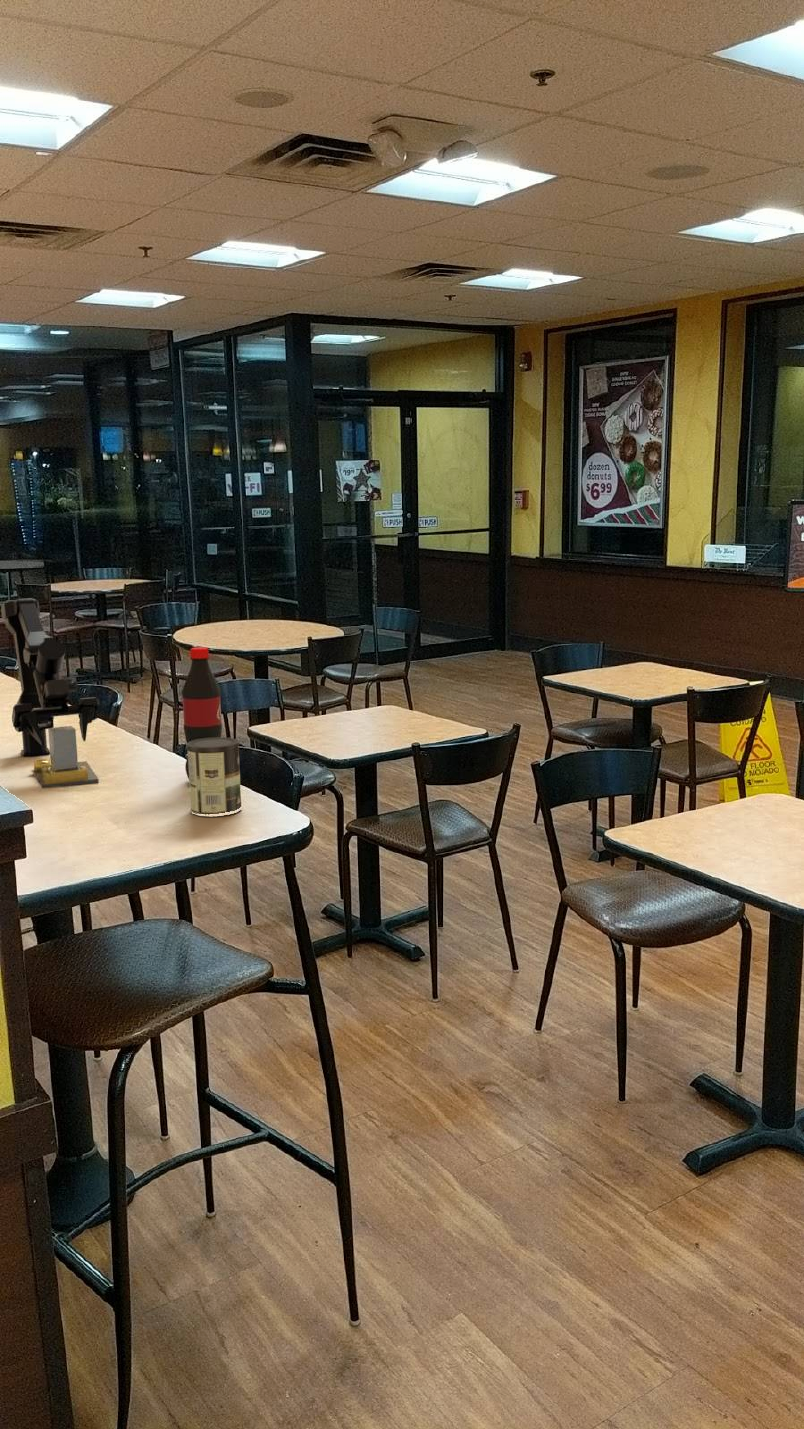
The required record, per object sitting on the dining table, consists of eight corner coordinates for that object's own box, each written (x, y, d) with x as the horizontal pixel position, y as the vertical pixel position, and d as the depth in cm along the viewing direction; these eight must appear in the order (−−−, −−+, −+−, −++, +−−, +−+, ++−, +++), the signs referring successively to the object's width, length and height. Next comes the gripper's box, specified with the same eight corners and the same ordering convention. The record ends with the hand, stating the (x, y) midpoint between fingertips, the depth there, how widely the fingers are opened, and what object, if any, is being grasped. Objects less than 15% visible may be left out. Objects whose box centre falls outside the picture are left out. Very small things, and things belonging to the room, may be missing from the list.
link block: (51, 775, 246) (48, 728, 244) (74, 773, 248) (70, 725, 246) (55, 779, 242) (52, 731, 240) (78, 777, 244) (75, 729, 242)
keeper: (32, 769, 256) (31, 758, 255) (86, 764, 260) (85, 753, 260) (40, 788, 237) (40, 776, 237) (98, 782, 242) (97, 770, 242)
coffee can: (231, 801, 225) (228, 734, 222) (249, 813, 216) (246, 743, 213) (182, 808, 220) (179, 740, 217) (199, 820, 211) (196, 749, 208)
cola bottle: (228, 776, 246) (223, 645, 241) (218, 785, 238) (212, 649, 233) (192, 776, 247) (186, 645, 242) (181, 785, 239) (174, 649, 234)
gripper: (10, 668, 240) (23, 725, 232) (95, 662, 249) (110, 717, 241) (6, 698, 248) (19, 755, 240) (89, 691, 257) (103, 745, 249)
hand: (63, 742), depth 242 cm, fingers open, 9 cm apart
